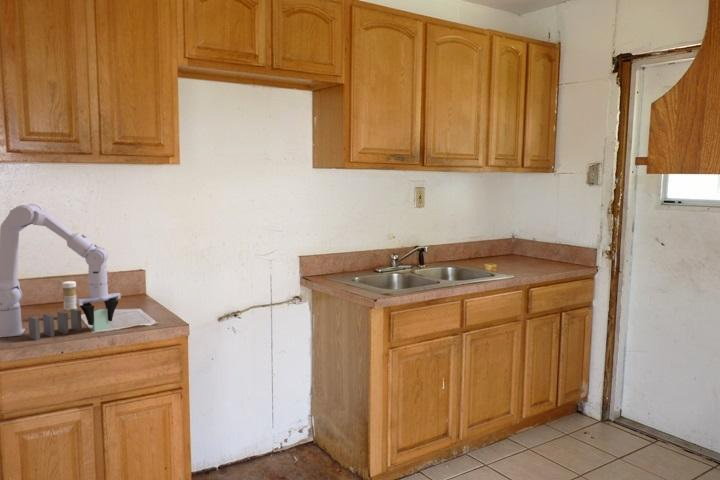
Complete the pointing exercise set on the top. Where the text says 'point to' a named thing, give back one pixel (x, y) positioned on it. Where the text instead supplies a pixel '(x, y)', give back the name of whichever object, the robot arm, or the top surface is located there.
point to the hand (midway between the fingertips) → (100, 322)
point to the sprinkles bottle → (69, 296)
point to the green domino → (100, 319)
